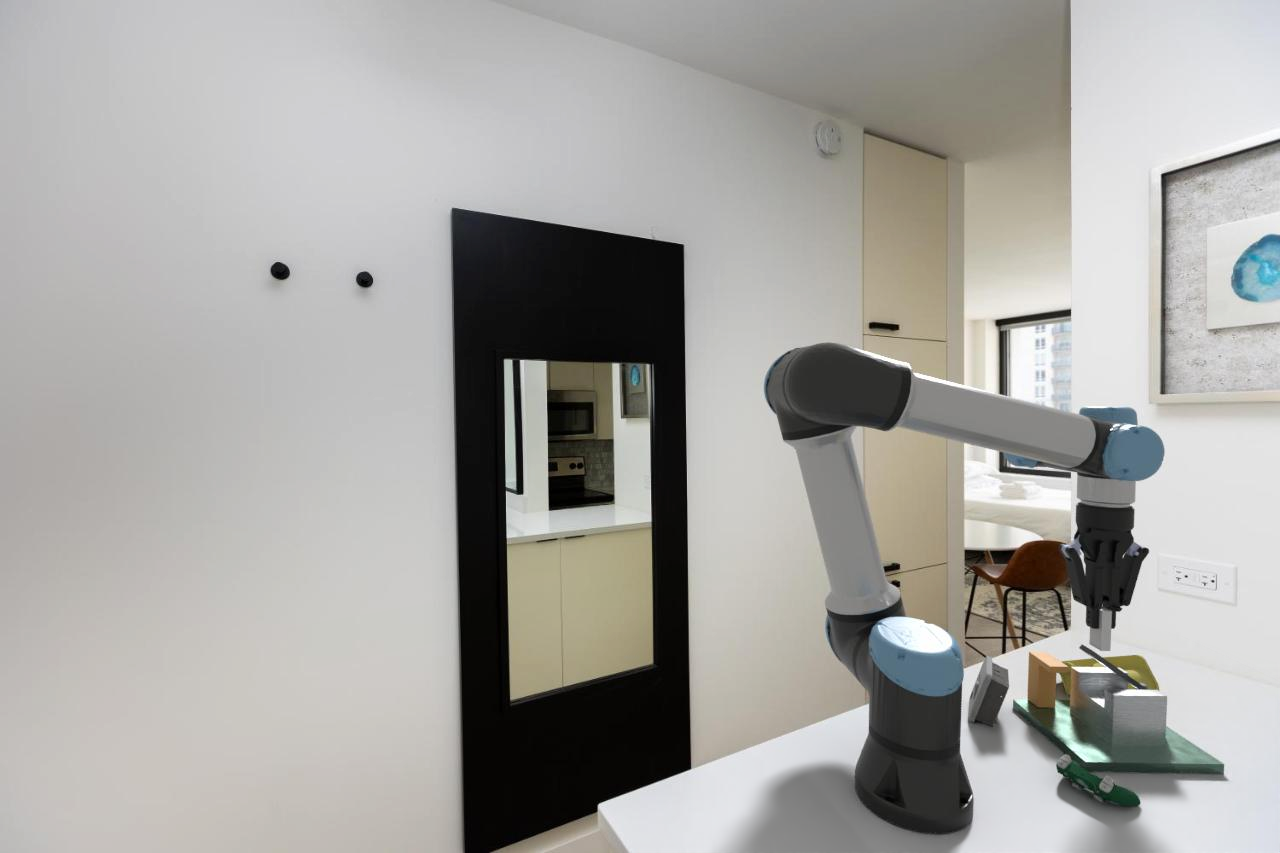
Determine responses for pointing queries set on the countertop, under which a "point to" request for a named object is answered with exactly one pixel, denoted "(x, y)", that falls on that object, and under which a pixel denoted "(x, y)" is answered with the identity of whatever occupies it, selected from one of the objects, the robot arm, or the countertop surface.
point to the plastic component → (1129, 663)
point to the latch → (1043, 678)
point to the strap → (1112, 668)
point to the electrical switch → (988, 693)
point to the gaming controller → (1096, 783)
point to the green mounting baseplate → (1116, 727)
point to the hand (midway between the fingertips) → (1099, 647)
